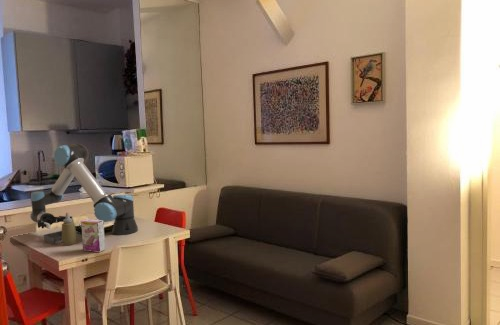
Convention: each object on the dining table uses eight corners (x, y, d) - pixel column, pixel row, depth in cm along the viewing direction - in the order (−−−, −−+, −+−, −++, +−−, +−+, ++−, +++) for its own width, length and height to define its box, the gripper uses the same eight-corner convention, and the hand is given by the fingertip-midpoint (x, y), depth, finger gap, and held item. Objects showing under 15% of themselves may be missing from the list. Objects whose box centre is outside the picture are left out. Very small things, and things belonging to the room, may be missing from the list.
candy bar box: (82, 251, 225) (80, 221, 223) (89, 248, 230) (86, 219, 228) (99, 252, 222) (97, 222, 220) (106, 249, 226) (103, 219, 224)
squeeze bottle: (65, 242, 243) (62, 211, 242) (79, 241, 244) (76, 210, 242) (60, 246, 235) (57, 214, 233) (74, 245, 236) (72, 214, 234)
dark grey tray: (44, 240, 248) (43, 234, 248) (65, 235, 258) (65, 229, 257) (53, 244, 239) (53, 238, 239) (76, 239, 249) (75, 233, 249)
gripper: (66, 220, 268) (82, 225, 254) (25, 229, 250) (39, 235, 235) (65, 209, 267) (81, 213, 253) (23, 216, 249) (38, 222, 235)
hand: (61, 223), depth 244 cm, fingers open, 13 cm apart
